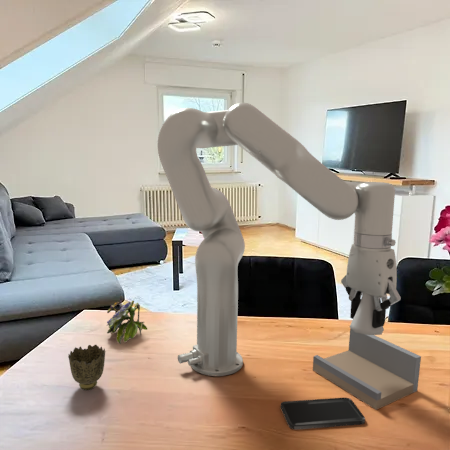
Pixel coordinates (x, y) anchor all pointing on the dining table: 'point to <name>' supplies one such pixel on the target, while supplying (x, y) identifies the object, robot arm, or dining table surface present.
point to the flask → (365, 317)
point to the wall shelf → (372, 370)
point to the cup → (87, 365)
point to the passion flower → (130, 325)
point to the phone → (321, 413)
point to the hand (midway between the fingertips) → (366, 321)
